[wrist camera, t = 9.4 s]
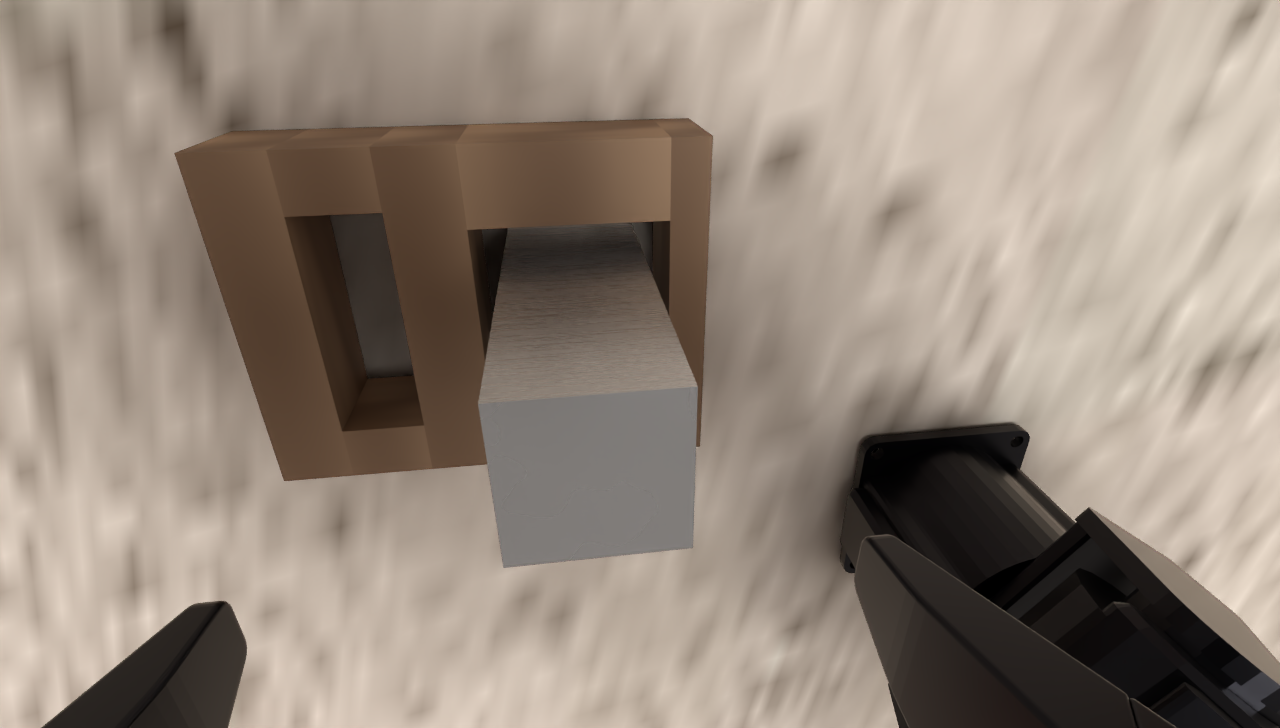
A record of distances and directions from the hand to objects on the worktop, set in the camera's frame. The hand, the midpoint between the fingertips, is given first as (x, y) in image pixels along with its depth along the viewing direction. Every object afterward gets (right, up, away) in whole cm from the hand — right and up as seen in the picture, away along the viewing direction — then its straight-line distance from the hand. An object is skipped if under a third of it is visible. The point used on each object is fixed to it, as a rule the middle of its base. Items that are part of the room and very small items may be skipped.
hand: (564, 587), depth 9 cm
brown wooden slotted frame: (-3, +6, +10) cm, 12 cm away
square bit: (-1, +6, +11) cm, 12 cm away
